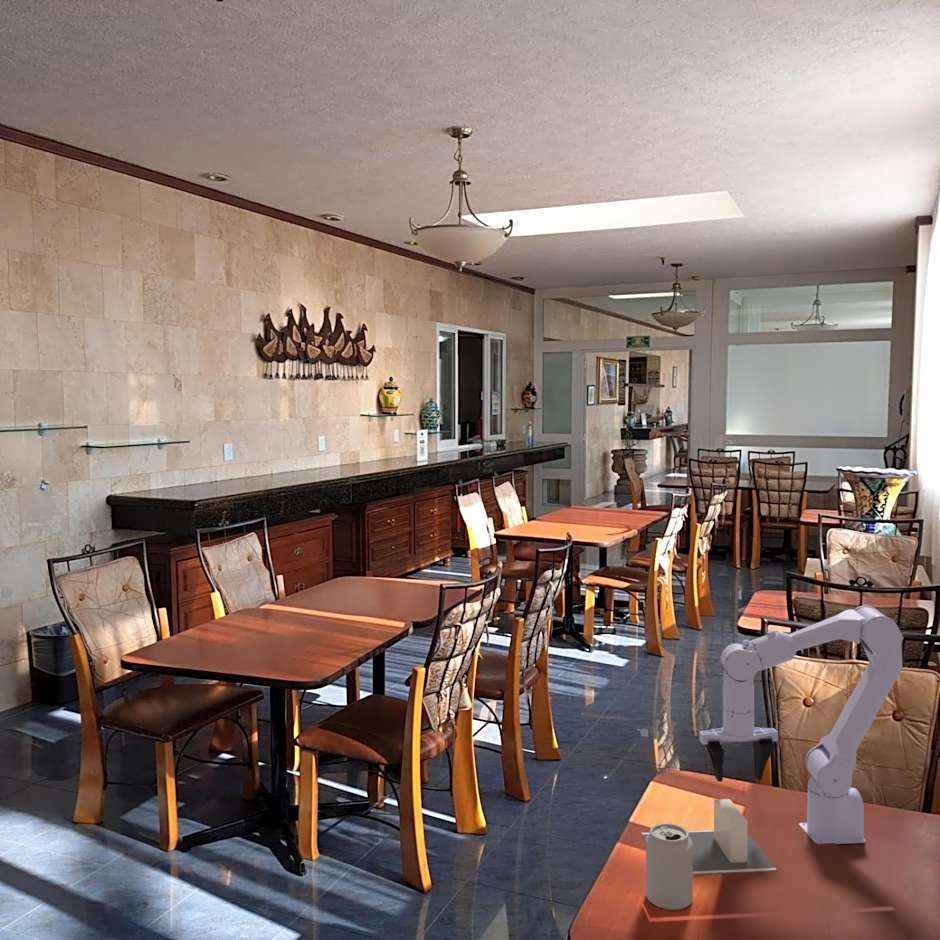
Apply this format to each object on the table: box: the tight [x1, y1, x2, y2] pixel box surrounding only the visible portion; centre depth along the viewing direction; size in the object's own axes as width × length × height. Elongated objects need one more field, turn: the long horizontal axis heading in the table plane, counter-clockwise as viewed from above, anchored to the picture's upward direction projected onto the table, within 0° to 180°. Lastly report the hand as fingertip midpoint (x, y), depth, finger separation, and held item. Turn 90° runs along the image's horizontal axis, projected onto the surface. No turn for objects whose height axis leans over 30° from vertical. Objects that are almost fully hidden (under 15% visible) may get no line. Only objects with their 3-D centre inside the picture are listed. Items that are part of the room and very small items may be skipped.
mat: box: [640, 829, 778, 876], centre depth 162 cm, size 20×16×1 cm
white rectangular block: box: [713, 798, 748, 863], centre depth 162 cm, size 3×9×8 cm, turn 3°
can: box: [645, 823, 694, 911], centre depth 146 cm, size 8×8×12 cm
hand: (738, 778), depth 170 cm, fingers open, 7 cm apart
